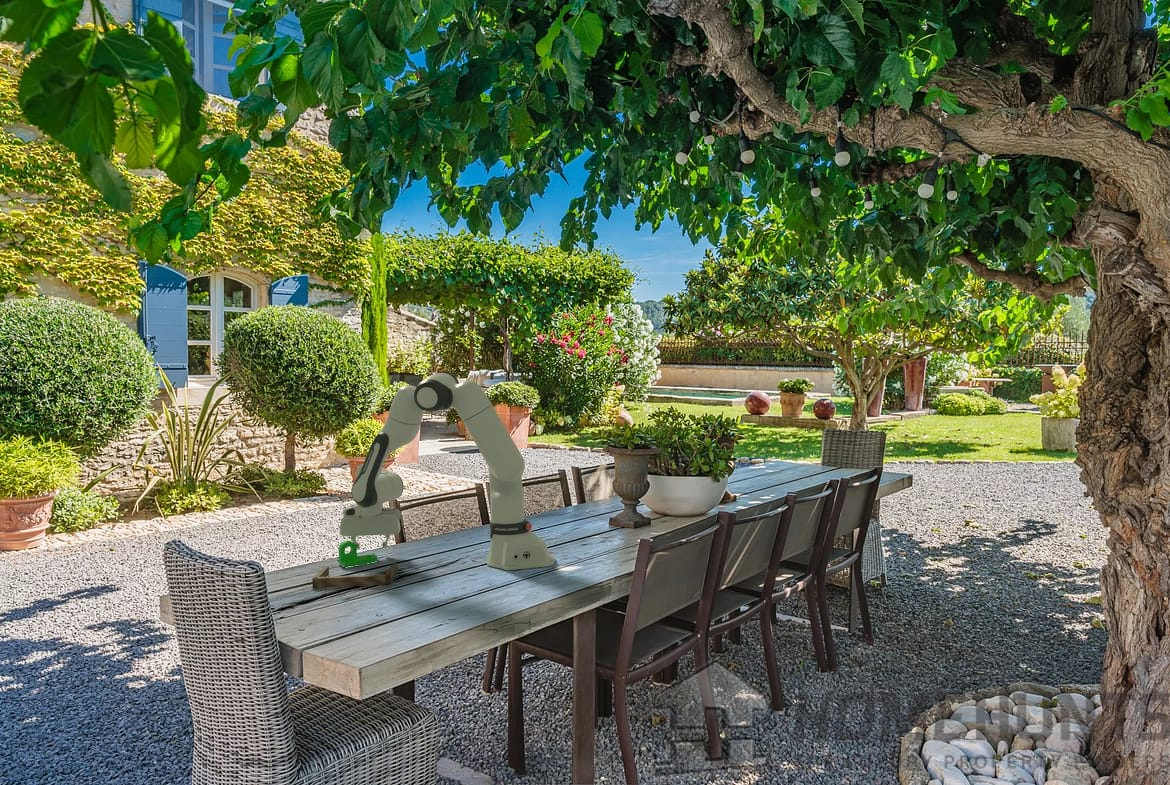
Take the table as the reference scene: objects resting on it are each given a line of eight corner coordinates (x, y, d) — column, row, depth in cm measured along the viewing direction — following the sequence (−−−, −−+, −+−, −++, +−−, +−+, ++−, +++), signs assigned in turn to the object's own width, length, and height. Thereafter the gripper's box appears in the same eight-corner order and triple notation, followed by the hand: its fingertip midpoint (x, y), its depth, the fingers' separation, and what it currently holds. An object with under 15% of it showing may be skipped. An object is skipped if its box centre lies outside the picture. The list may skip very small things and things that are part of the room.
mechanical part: (345, 569, 249) (344, 545, 249) (339, 565, 254) (338, 541, 253) (380, 562, 256) (379, 539, 256) (373, 559, 261) (372, 536, 261)
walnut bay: (397, 572, 243) (397, 563, 243) (390, 585, 230) (390, 575, 229) (324, 575, 241) (323, 566, 241) (312, 588, 228) (312, 578, 227)
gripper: (401, 505, 267) (402, 544, 268) (342, 507, 266) (343, 546, 266) (398, 509, 261) (399, 548, 262) (337, 511, 259) (339, 551, 260)
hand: (371, 547), depth 264 cm, fingers open, 8 cm apart
